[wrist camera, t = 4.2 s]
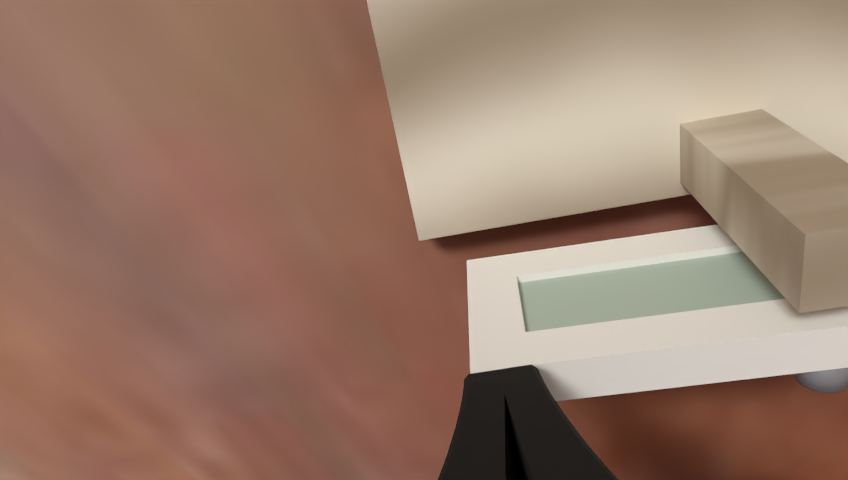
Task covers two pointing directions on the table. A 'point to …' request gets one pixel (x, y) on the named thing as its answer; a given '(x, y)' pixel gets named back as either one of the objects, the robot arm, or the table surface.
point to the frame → (647, 317)
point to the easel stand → (630, 118)
